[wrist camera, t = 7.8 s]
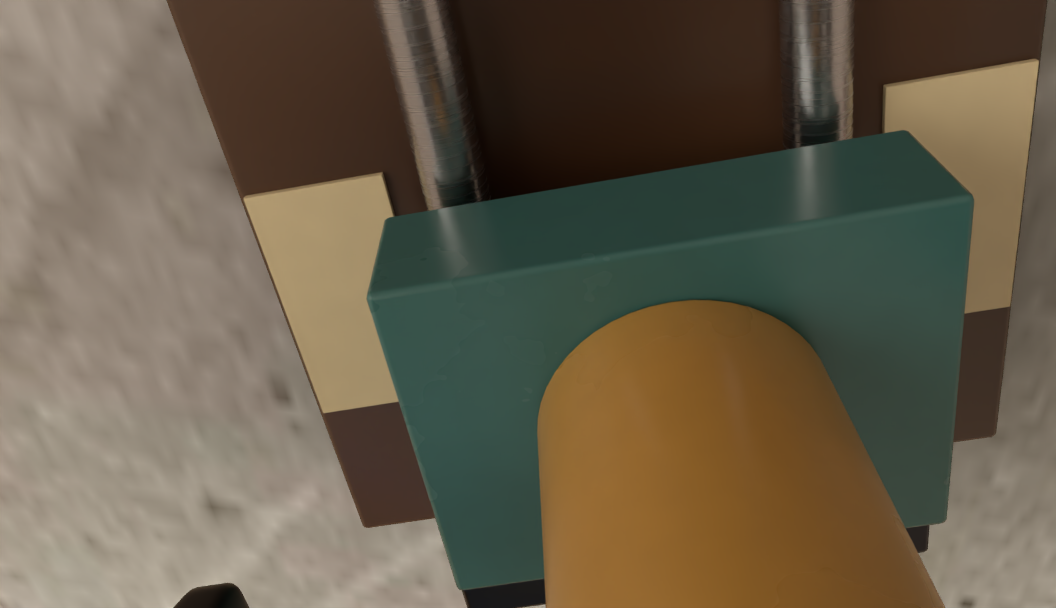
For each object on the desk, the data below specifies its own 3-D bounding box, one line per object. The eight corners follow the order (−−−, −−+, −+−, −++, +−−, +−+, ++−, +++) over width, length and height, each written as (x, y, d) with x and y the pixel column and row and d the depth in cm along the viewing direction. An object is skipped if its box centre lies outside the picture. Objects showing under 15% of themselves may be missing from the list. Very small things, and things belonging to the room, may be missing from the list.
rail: (1096, -913, 8) (1391, -1230, 5) (970, 398, 15) (1065, 534, 13) (-32, -637, 8) (-262, -794, 6) (370, 488, 16) (344, 634, 13)
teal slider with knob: (908, 126, 10) (1515, 723, 4) (894, 428, 13) (1272, 1103, 6) (383, 215, 11) (220, 879, 5) (462, 492, 13) (426, 1183, 7)
